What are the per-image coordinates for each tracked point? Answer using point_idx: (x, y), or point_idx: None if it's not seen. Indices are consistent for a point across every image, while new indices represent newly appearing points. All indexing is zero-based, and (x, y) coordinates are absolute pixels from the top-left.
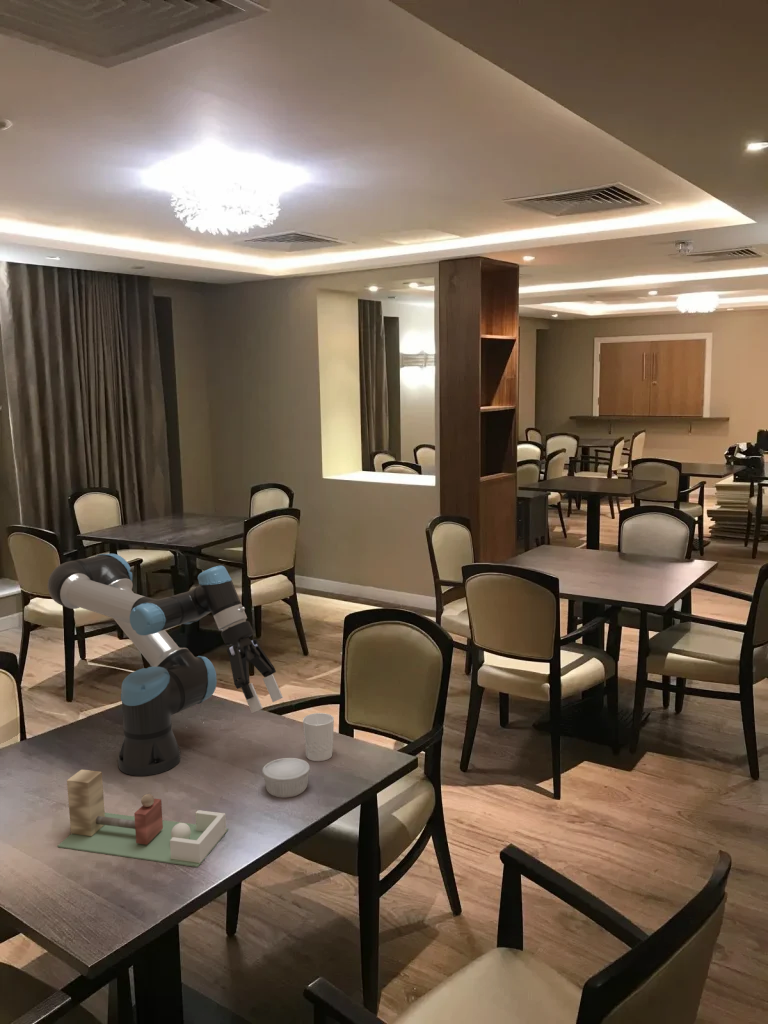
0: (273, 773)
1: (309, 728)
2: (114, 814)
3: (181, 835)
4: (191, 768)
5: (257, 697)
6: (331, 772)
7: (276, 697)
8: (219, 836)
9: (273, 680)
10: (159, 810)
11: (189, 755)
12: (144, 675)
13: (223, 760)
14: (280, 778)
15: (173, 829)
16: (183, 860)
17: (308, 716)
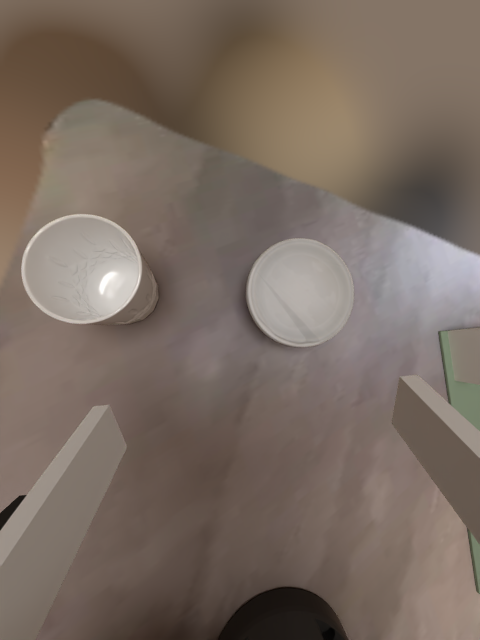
0: (336, 307)
1: (143, 283)
2: (475, 554)
3: None
4: (274, 543)
5: (463, 428)
6: (197, 239)
7: (111, 438)
8: (473, 328)
9: (25, 540)
10: None
11: (219, 596)
12: None
13: (217, 498)
14: (350, 282)
15: None
16: None
17: (62, 316)
